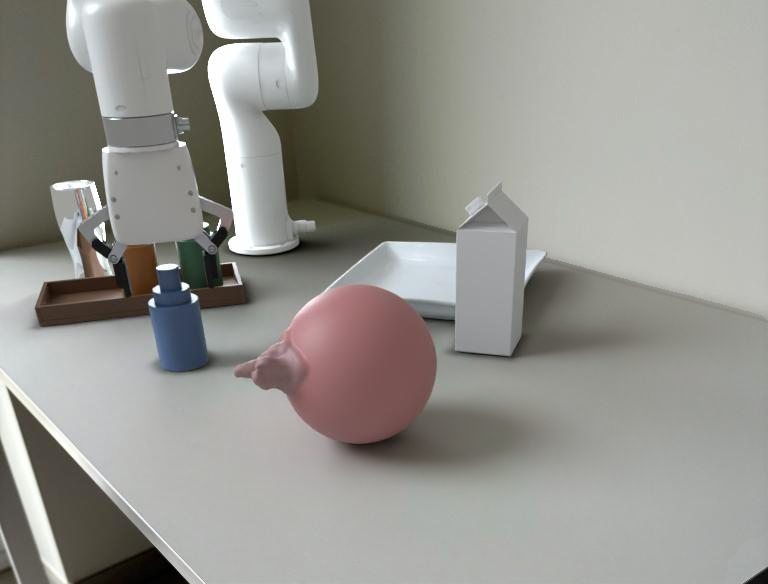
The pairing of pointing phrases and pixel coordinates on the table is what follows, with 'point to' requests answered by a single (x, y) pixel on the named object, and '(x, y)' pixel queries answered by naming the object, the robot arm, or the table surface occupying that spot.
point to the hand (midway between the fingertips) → (170, 289)
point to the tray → (120, 298)
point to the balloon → (352, 364)
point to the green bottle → (196, 262)
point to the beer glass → (71, 209)
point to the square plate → (419, 274)
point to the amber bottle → (141, 268)
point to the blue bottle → (177, 322)
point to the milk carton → (490, 275)
